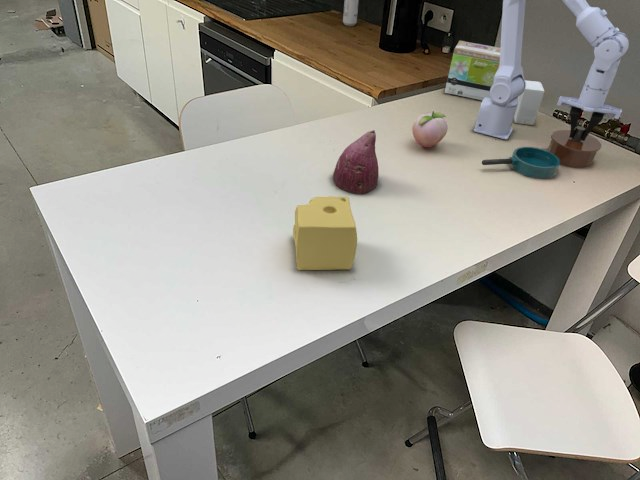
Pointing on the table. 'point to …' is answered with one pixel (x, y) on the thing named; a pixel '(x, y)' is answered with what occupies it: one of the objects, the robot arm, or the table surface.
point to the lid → (576, 140)
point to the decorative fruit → (429, 129)
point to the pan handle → (500, 161)
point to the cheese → (325, 234)
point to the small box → (529, 103)
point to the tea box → (472, 70)
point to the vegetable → (358, 166)
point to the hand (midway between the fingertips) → (576, 137)
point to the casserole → (571, 156)
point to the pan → (535, 162)
